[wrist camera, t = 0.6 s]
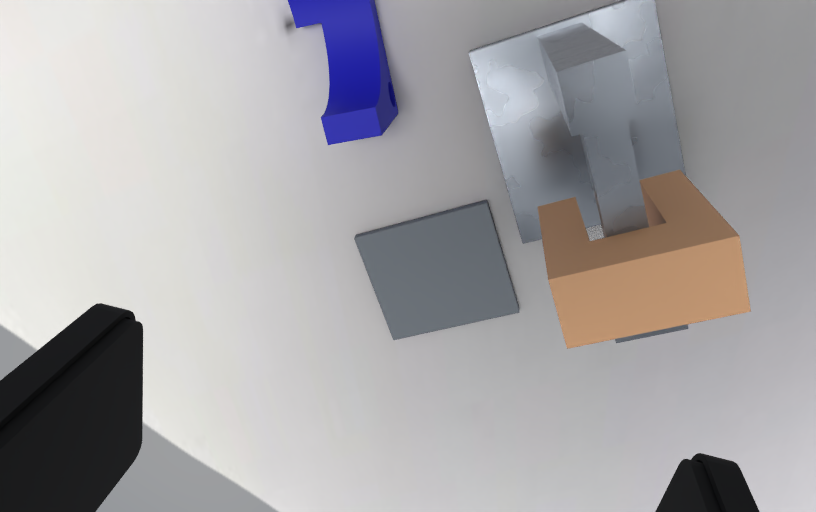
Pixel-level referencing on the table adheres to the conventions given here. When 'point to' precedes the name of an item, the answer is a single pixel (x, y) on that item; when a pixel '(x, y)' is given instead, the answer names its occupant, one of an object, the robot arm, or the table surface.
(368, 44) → the blue toy block
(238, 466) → the table surface
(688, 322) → the c link
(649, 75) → the stand
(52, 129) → the table surface
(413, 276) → the mat
